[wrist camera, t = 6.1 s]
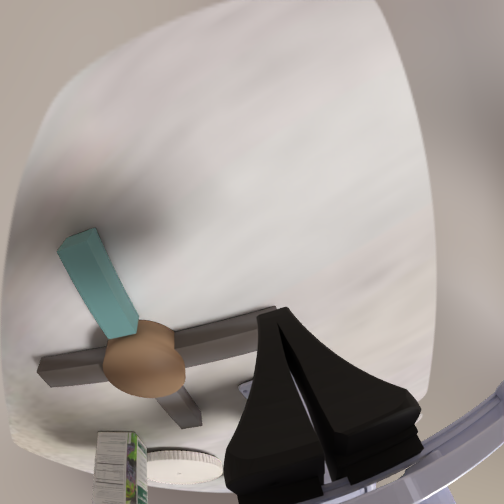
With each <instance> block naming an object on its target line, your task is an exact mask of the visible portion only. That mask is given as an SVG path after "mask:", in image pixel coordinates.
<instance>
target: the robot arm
mask: <svg viewBox="0 0 504 504" xmlns="http://www.w3.org/2000/svg"><path fill="white" fill-rule="evenodd" d="M256 319H257V324H258V348H257V358H256V365H255V371H254V376H253V380H252V381H249V382H246V383H243V384H241V385H239V387H238V388H239V391H240V392H241V393H242V394H243V395H244V396H245V398H246V399H247V403H246V406H245V409H244V411H243V414H242V416H241V419H240V421H239V424H238V426H237V429H236V431H235V433H234V435H233V437H232V439H231V441H230V443H229V445H228V446H227V448H226V453H225V459H224V478H225V484H226V487H227V488H228V489H229V490H231V491H232V492H234V493H235V494H237V496H238V502H239V504H456V502H455V500H454V498H453V496H452V494H451V492H450V490H449V488H448V485H450V484H451V483H452V482H454V481H456V480H457V479H458V478H460V477H461V476H463V475H464V474H466V473H467V472H468V471H470V470H471V469H473V468H474V467H475V466H477V465H478V464H479V463H480V462H482V461H483V460H484V459H485V458H487V457H488V456H489V455H491V454H492V453H493V452H494V451H495V450H497V449H498V448H499V447H500V446H501V445H502V444H503V443H504V380H503V381H502V382H501V383H500V385H499V386H498V388H497V389H496V391H495V392H494V393H493V394H492V395H491V396H489V397H488V398H487V399H485V400H484V401H483V402H481V403H480V404H479V405H478V406H476V407H475V408H473V409H472V410H471V411H469V412H468V413H466V414H465V415H464V416H462V417H461V418H459V419H458V420H456V421H455V422H453V423H452V424H450V425H449V426H447V427H445V428H444V429H442V430H441V431H439V432H437V433H436V434H434V435H433V436H431V437H429V438H427V439H426V440H424V441H422V442H421V441H420V440H419V438H418V436H417V433H418V430H417V428H416V426H415V425H414V424H415V422H416V420H417V419H418V417H419V415H420V412H421V408H420V406H419V404H418V402H417V401H416V399H415V398H414V397H413V396H412V395H411V394H410V393H409V391H408V390H407V389H404V388H401V387H398V386H396V385H393V384H390V383H388V382H385V381H383V380H381V379H378V378H376V377H374V376H372V375H370V374H368V373H366V372H364V371H363V370H361V369H359V368H357V367H355V366H353V365H352V364H350V363H349V362H347V361H345V360H344V359H343V358H341V357H340V356H338V355H337V354H335V353H334V352H333V351H331V350H330V349H329V348H328V347H326V346H325V345H324V344H323V343H321V342H320V341H319V340H318V339H317V338H316V337H315V336H314V335H312V334H311V333H310V332H309V331H308V330H307V329H306V328H305V327H304V326H303V325H302V324H301V323H300V322H299V320H298V319H297V318H296V317H295V316H294V315H293V313H292V312H291V311H290V309H289V308H287V307H283V308H280V309H276V310H273V311H270V312H266V313H263V314H259V315H258V316H257V317H256ZM413 464H414V465H413ZM411 465H412V466H411ZM409 466H411V467H409ZM407 467H409V468H408V469H406V470H405V473H404V475H403V476H401V477H400V478H399V479H397V480H395V481H393V482H391V483H389V484H386V485H384V486H382V487H379V488H377V489H376V482H379V481H381V480H383V479H385V478H387V477H390V476H391V475H393V474H396V473H398V472H400V471H402V470H404V469H405V468H407Z"/></svg>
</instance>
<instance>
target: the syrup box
mask: <svg viewBox="0 0 504 504" xmlns="http://www.w3.org/2000/svg"><path fill="white" fill-rule="evenodd" d="M92 503H93V504H148V498H147V447H146V446H145V445H144V444H143V443H142V441H141V440H140V439H139V438H138V436H137V435H136V434H135V433H134V432H98V437H97V446H96V456H95V467H94V483H93V502H92Z"/></svg>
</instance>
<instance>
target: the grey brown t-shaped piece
mask: <svg viewBox="0 0 504 504" xmlns="http://www.w3.org/2000/svg"><path fill="white" fill-rule="evenodd" d="M276 309H277V308H276V306H274V307H271V308H267V309H263V310H260V311H256V312H253V313H249V314H245V315H241V316H238V317H234V318H230V319H226V320H222V321H218V322H215V323H211V324H207V325H203V326H198V327H194V328H190V329H186V330H182V331H177V332H174V331H172V330H171V329H170V328H168V327H166V326H164V325H162V324H159V323H156V322H152V321H146V320H138V326H137V332H136V334H131V335H127V336H122V337H118V338H113V339H108V343H107V347H102V348H96V349H91V350H85V351H80V352H74V353H68V354H62V355H56V356H49V357H43V358H41V361H40V364H39V366H38V369H37V373H38V374H39V375H40V377H41V378H42V379H43V380H44V381H45V382H46V383H47V384H48V385H49V386H50V387H63V386H73V385H83V384H91V383H99V382H107V381H109V382H110V383H111V384H113V385H114V386H115V387H116V388H118V389H120V390H121V391H123V392H125V393H128V394H131V395H134V396H138V397H144V398H155V399H156V400H157V401H158V403H159V404H160V405H161V406H162V407H163V408H164V410H165V411H166V412H167V413H168V414H169V415H170V417H171V418H172V419H173V420H174V421H175V422H176V423H177V424H178V426H179V427H180V428H181V429H186V428H192V427H198V426H202V417H201V411H200V410H199V408H198V407H197V405H196V404H195V402H194V401H193V400H192V398H191V397H190V395H189V394H188V392H187V391H186V389H185V388H184V386H183V384H184V382H185V378H186V377H185V368H187V367H192V366H197V365H201V364H206V363H210V362H214V361H219V360H223V359H227V358H231V357H235V356H239V355H243V354H247V353H250V352H254V351H257V348H258V324H257V319H256V317H257V316H258V315H259V314H263V313H266V312H270V311H273V310H276Z"/></svg>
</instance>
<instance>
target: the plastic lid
mask: <svg viewBox="0 0 504 504" xmlns="http://www.w3.org/2000/svg"><path fill="white" fill-rule="evenodd" d="M222 473H223V468H222V462H221V461H220V460H219V459H218V458H216V457H213V456H211V455H208V454H204V453H197V452H192V451H191V452H189V451H176V450H174V451H172V450H170V451H158V452H151V453H147V479H149V480H152V481H155V482H161V483H167V484H181V485H183V484H196V483H203V482H208V481H211V480H213V479H215V478H217V477H219V476H220V475H222Z"/></svg>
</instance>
